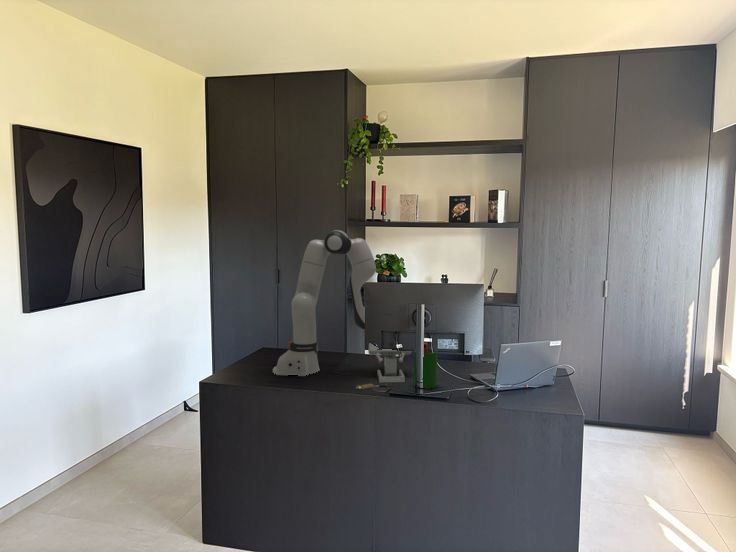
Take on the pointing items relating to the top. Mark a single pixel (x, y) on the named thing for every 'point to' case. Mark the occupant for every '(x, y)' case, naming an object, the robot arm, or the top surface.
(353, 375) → the top surface
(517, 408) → the top surface
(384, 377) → the bracket
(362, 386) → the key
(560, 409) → the top surface
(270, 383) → the top surface
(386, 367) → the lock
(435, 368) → the green utensil holder
